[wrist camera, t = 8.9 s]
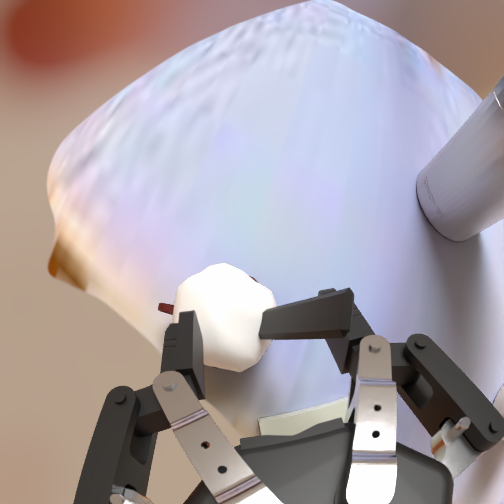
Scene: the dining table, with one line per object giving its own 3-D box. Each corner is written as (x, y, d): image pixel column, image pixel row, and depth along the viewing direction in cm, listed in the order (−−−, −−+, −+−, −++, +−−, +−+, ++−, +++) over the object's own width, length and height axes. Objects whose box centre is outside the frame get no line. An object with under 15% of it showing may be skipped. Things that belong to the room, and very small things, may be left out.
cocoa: (162, 326, 20) (64, 294, 9) (207, 260, 22) (154, 169, 11) (268, 395, 18) (275, 453, 7) (313, 323, 20) (373, 289, 9)
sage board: (378, 385, 19) (384, 387, 18) (386, 493, 16) (391, 497, 15) (257, 418, 18) (259, 422, 17) (281, 526, 15) (282, 532, 14)
